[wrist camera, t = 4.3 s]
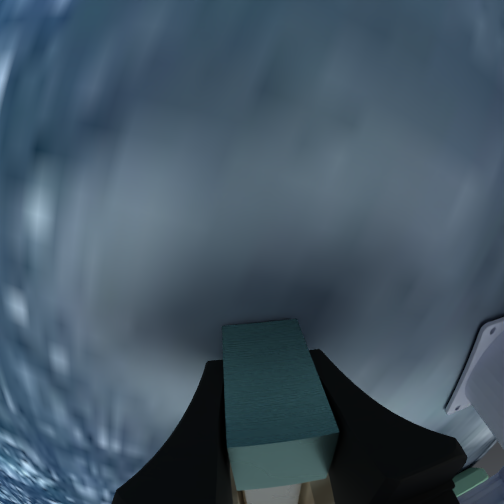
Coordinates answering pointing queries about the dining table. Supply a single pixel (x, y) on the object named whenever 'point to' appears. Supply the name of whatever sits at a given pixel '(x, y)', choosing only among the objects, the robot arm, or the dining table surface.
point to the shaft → (274, 412)
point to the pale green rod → (468, 480)
